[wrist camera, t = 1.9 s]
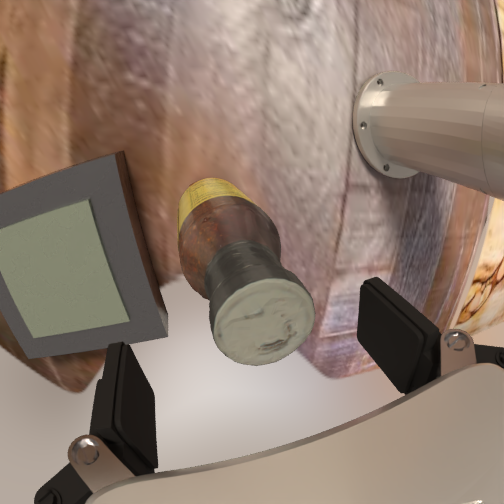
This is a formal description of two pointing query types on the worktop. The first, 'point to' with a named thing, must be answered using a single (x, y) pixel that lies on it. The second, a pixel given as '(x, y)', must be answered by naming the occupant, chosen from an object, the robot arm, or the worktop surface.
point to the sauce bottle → (241, 274)
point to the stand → (77, 262)
